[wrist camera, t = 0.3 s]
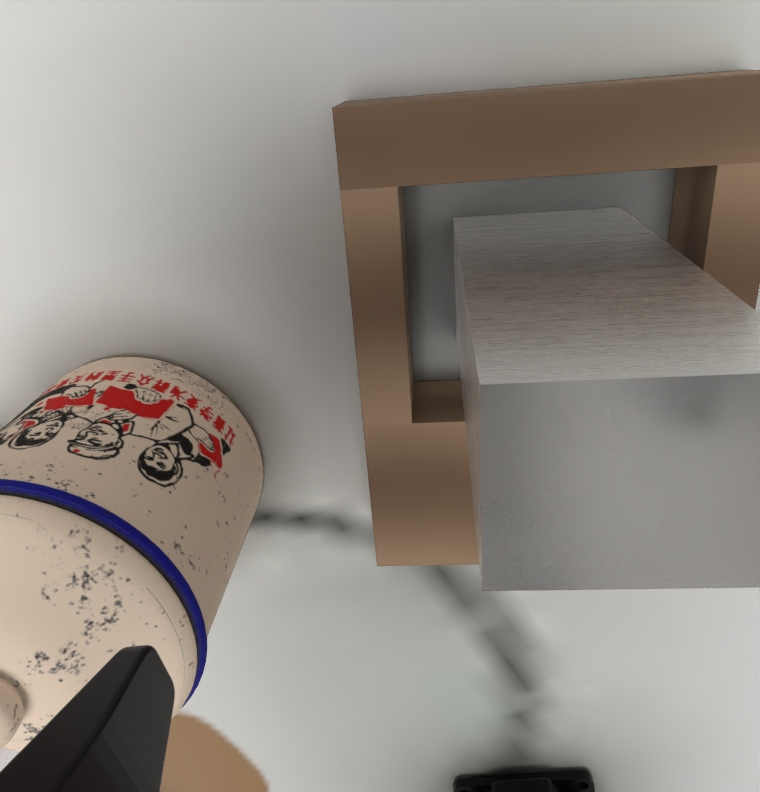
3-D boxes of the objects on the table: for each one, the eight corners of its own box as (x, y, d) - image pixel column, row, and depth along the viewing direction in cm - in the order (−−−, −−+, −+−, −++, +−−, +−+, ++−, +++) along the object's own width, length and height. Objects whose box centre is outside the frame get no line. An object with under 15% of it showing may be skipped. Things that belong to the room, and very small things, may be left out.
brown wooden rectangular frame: (680, 506, 25) (710, 560, 22) (382, 513, 26) (377, 565, 23) (743, 69, 19) (796, 71, 16) (345, 101, 20) (332, 107, 17)
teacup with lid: (281, 368, 23) (164, 613, 13) (263, 569, 28) (163, 879, 17) (-62, 313, 23) (-456, 516, 13) (-29, 523, 27) (-309, 806, 17)
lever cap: (610, 331, 22) (781, 586, 11) (456, 338, 23) (482, 590, 12) (620, 206, 20) (834, 370, 10) (453, 217, 21) (479, 384, 10)
